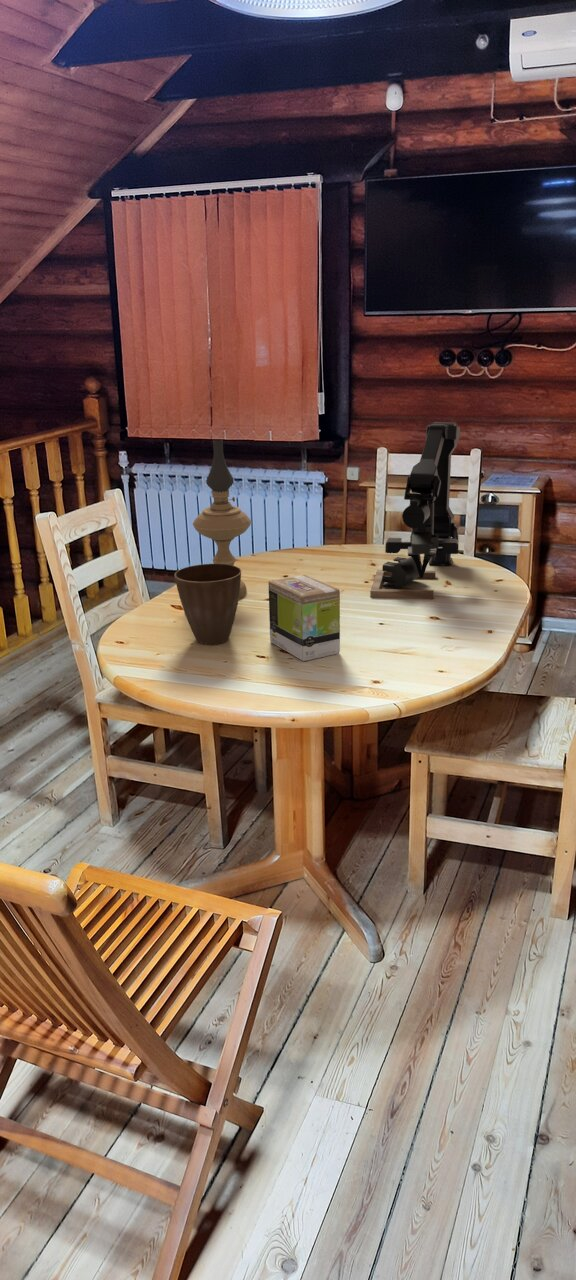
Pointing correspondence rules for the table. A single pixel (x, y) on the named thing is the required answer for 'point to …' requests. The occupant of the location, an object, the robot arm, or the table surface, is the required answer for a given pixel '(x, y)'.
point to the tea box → (304, 617)
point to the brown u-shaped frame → (397, 593)
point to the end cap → (400, 572)
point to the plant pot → (209, 599)
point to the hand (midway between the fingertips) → (421, 577)
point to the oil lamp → (222, 512)
